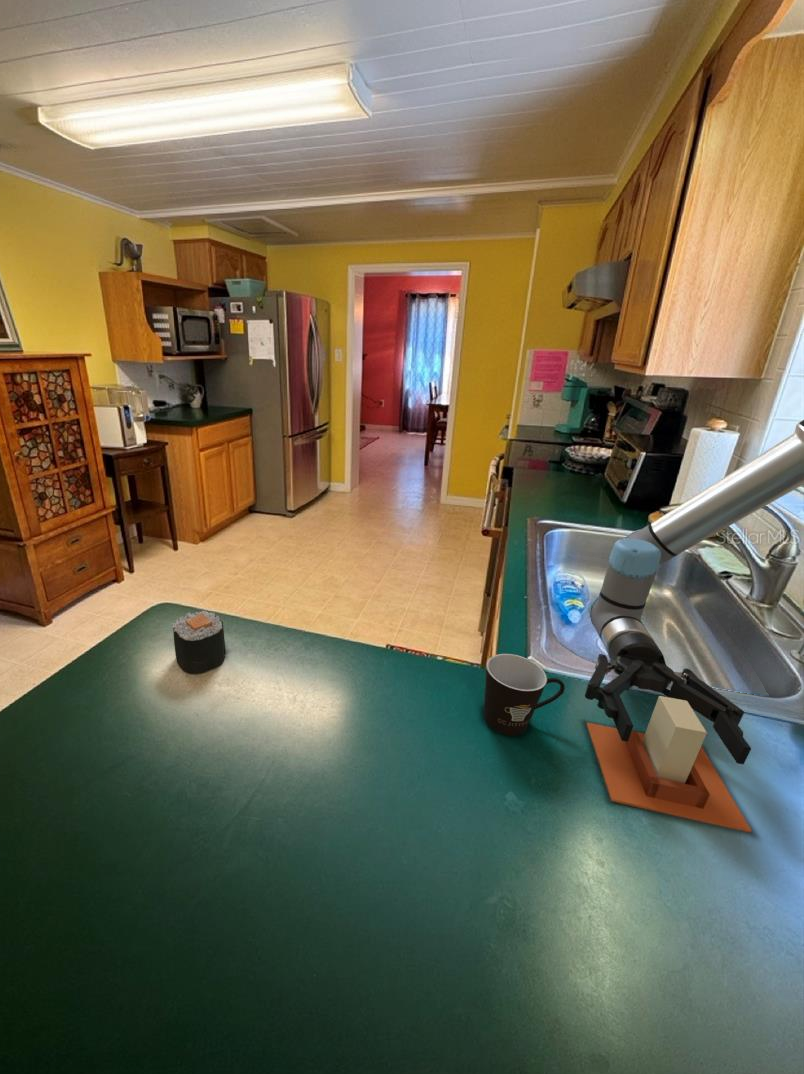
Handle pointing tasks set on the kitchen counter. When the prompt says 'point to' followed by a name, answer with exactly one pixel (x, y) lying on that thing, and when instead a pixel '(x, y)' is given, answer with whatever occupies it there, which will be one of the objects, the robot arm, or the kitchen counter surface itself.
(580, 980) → the kitchen counter surface
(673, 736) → the block
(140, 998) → the kitchen counter surface
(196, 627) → the sushi
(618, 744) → the base pad
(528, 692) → the coffee mug
